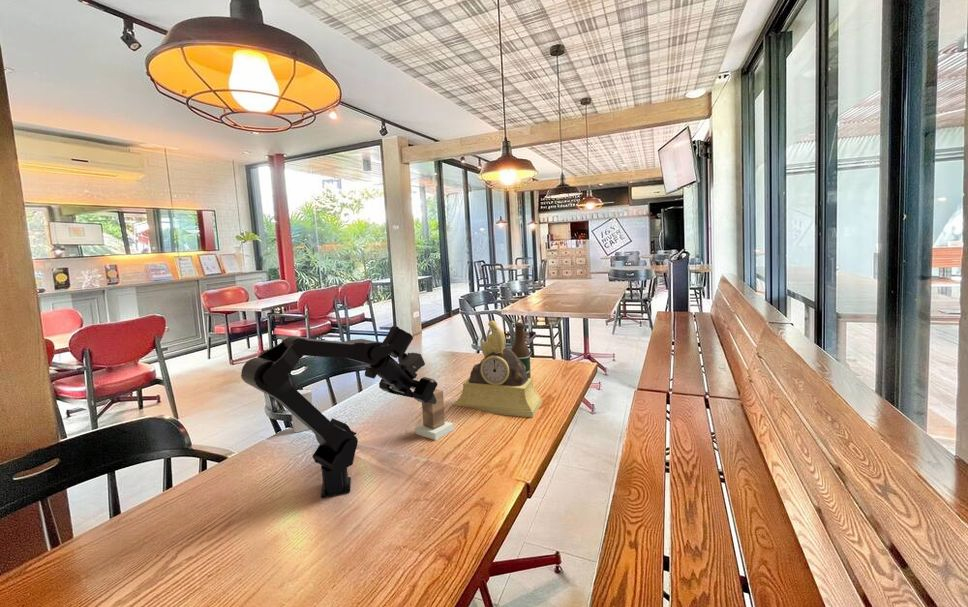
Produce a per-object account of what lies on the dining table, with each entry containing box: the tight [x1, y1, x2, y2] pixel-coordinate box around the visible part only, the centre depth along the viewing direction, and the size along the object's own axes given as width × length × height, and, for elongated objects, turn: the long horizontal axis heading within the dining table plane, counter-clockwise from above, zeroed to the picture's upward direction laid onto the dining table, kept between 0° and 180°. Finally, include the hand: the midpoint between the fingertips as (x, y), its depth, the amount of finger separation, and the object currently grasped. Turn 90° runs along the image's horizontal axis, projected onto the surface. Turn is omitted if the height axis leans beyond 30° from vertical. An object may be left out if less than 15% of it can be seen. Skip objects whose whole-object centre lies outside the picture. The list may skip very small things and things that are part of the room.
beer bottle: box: [510, 322, 532, 379], centre depth 171 cm, size 8×8×24 cm
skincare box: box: [290, 388, 314, 433], centre depth 135 cm, size 6×4×12 cm
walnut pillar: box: [421, 388, 446, 429], centre depth 126 cm, size 4×4×10 cm
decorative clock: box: [452, 320, 543, 419], centre depth 146 cm, size 28×13×30 cm, turn 70°
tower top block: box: [414, 421, 455, 441], centre depth 126 cm, size 8×8×2 cm
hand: (424, 399), depth 122 cm, fingers open, 9 cm apart
